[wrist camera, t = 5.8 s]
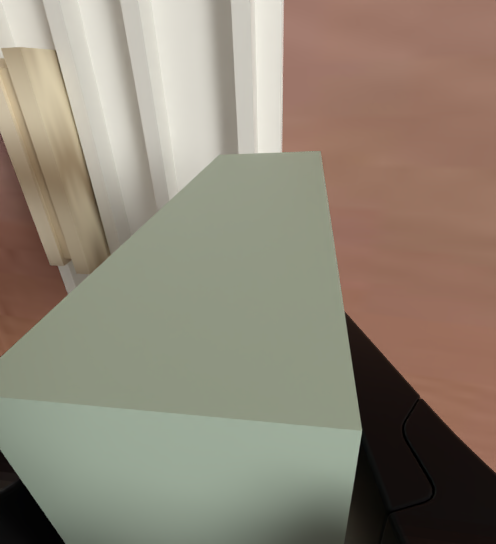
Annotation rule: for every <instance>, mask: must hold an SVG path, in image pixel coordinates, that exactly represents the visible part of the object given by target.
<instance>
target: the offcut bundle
mask: <svg viewBox="0 0 496 544" xmlns="http://www.w3.org/2000/svg"><path fill="white" fill-rule="evenodd" d="M1 50H2V53H3V56H4V58H0V132H1V135H2V138H3V140H4V143H5V146H6V148H7V151H8V154H9V156H10V159H11V162H12V165H13V167H14V170H15V173H16V175H17V178H18V181H19V183H20V186H21V189H22V191H23V194H24V197H25V199H26V202H27V205H28V207H29V210H30V213H31V215H32V218H33V221H34V223H35V226H36V229H37V231H38V234H39V237H40V239H41V242H42V245H43V247H44V250H45V253H46V255H47V258H48V261H49V263H50V265H53V266H65V265H66V264H67V263H68V262H70V261H71V260H72V262H73V265H74V268H75V271H76V274H91V273H92V272H93V271H94V270H95V269H96V268H97V267H99V266H100V265H101V264H102V263H103V262H104V261H105V260H106V259H107V258H108V257H109V256H110V255H111V254H110V250H109V246H108V243H107V239H106V235H105V231H104V228H103V224H102V220H101V216H100V213H99V209H98V205H97V201H96V198H95V194H94V190H93V187H92V183H91V179H90V175H89V172H88V168H87V164H86V160H85V157H84V153H83V149H82V146H81V142H80V138H79V134H78V131H77V127H76V123H75V119H74V116H73V112H72V108H71V105H70V101H69V97H68V93H67V90H66V86H65V82H64V78H63V75H62V71H61V67H60V64H59V60H58V56H57V52H56V50H50V49H38V48H26V47H12V48H1Z"/></svg>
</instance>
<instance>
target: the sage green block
mask: <svg viewBox="0 0 496 544" xmlns="http://www.w3.org/2000/svg"><path fill="white" fill-rule="evenodd" d="M361 435H362V427H361V420H360V413H359V406H358V400H357V393H356V386H355V380H354V373H353V366H352V360H351V353H350V346H349V339H348V333H347V326H346V319H345V313H344V306H343V299H342V292H341V286H340V279H339V272H338V266H337V259H336V252H335V245H334V239H333V232H332V225H331V219H330V212H329V205H328V198H327V192H326V185H325V178H324V172H323V165H322V158H321V152H320V151H309V152H281V153H254V154H226V155H218V156H217V157H216V158H215V159H214V160H213V161H212V162H211V163H210V164H209V165H208V166H206V167H205V168H204V169H203V170H202V171H201V172H200V173H199V174H198V175H197V176H196V177H195V178H194V179H192V180H191V181H190V182H189V183H188V184H187V185H186V186H185V187H184V188H183V189H182V190H181V191H180V192H178V193H177V194H176V195H175V196H174V197H173V198H172V199H171V200H170V201H169V202H168V203H167V204H165V205H164V206H163V207H162V208H161V209H160V210H159V211H158V212H157V213H156V214H155V215H154V216H153V217H151V218H150V219H149V220H148V221H147V222H146V223H145V224H144V225H143V226H142V227H141V228H140V229H138V230H137V231H136V232H135V233H134V234H133V235H132V236H131V237H130V238H129V239H128V240H127V241H126V242H124V243H123V244H122V245H121V246H120V247H119V248H118V249H117V250H116V251H115V252H114V253H113V254H112V255H110V256H109V257H108V258H107V259H106V260H105V261H104V262H103V263H102V264H101V265H100V266H99V267H97V268H96V269H95V270H94V271H93V272H92V273H91V274H90V275H89V276H88V277H87V278H86V279H85V280H83V281H82V282H81V283H80V284H79V285H78V286H77V287H76V288H75V289H74V290H73V291H72V292H70V293H69V294H68V295H67V296H66V297H65V298H64V299H63V300H62V301H61V302H60V303H59V304H58V305H56V306H55V307H54V308H53V309H52V310H51V311H50V312H49V313H48V314H47V315H46V316H45V317H44V318H42V319H41V320H40V321H39V322H38V323H37V324H36V325H35V326H34V327H33V328H32V329H31V330H29V331H28V332H27V333H26V334H25V335H24V336H23V337H22V338H21V339H20V340H19V341H18V342H17V343H15V344H14V345H13V346H12V347H11V348H10V349H9V350H8V351H7V352H6V353H5V354H4V355H2V356H1V357H0V450H1V452H2V453H3V454H4V456H5V457H6V459H7V460H8V462H9V463H10V465H11V466H12V467H13V469H14V470H15V472H16V473H17V475H18V476H19V477H20V479H21V480H22V482H23V483H24V485H25V486H26V488H27V489H28V490H29V492H30V493H31V495H32V496H33V498H34V499H35V500H36V502H37V503H38V505H39V506H40V508H41V509H42V511H43V512H44V513H45V515H46V516H47V518H48V519H49V521H50V522H51V523H52V525H53V526H54V528H55V529H56V531H57V532H58V534H59V535H60V536H61V538H62V539H63V541H64V542H65V544H344V541H345V535H346V528H347V522H348V516H349V510H350V503H351V497H352V491H353V485H354V478H355V472H356V466H357V460H358V453H359V447H360V441H361Z"/></svg>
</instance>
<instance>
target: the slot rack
mask: <svg viewBox="0 0 496 544" xmlns="http://www.w3.org/2000/svg"><path fill="white" fill-rule="evenodd" d="M283 29H284V0H0V58H4V56H3V53H2V50H1V48H12V47H26V48H38V49H50V50H56V52H57V56H58V60H59V64H60V67H61V71H62V75H63V78H64V82H65V86H66V90H67V93H68V97H69V101H70V105H71V108H72V112H73V116H74V119H75V123H76V127H77V131H78V134H79V138H80V142H81V146H82V149H83V153H84V157H85V160H86V164H87V168H88V172H89V175H90V179H91V183H92V187H93V190H94V194H95V198H96V201H97V205H98V209H99V213H100V216H101V220H102V224H103V228H104V231H105V235H106V239H107V243H108V246H109V250H110V254H111V255H112V254H113V253H114V252H115V251H116V250H117V249H118V248H119V247H120V246H121V245H122V244H123V243H124V242H126V241H127V240H128V239H129V238H130V237H131V236H132V235H133V234H134V233H135V232H136V231H137V230H138V229H140V228H141V227H142V226H143V225H144V224H145V223H146V222H147V221H148V220H149V219H150V218H151V217H153V216H154V215H155V214H156V213H157V212H158V211H159V210H160V209H161V208H162V207H163V206H164V205H165V204H167V203H168V202H169V201H170V200H171V199H172V198H173V197H174V196H175V195H176V194H177V193H178V192H180V191H181V190H182V189H183V188H184V187H185V186H186V185H187V184H188V183H189V182H190V181H191V180H192V179H194V178H195V177H196V176H197V175H198V174H199V173H200V172H201V171H202V170H203V169H204V168H205V167H206V166H208V165H209V164H210V163H211V162H212V161H213V160H214V159H215V158H216V157H217V156H218V155H226V154H254V153H281V152H282V112H283ZM58 268H59V271H60V274H61V276H62V279H63V282H64V285H65V287H66V290H67V293H68V294H69V293H70V292H72V291H73V290H74V289H75V288H76V287H77V286H78V285H79V284H80V283H81V282H82V281H83V280H85V279H86V278H87V277H88V276H89V275H90V274H76V271H75V268H74V265H73V262H72V260H71V261H70V262H68V263H67V264H66V265H65V266H58Z"/></svg>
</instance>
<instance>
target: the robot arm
mask: <svg viewBox="0 0 496 544" xmlns="http://www.w3.org/2000/svg"><path fill="white" fill-rule="evenodd" d="M344 313H345V319H346V326H347V333H348V339H349V346H350V353H351V360H352V366H353V373H354V380H355V386H356V393H357V400H358V406H359V413H360V420H361V427H362V435H361V441H360V447H359V453H358V460H357V466H356V472H355V478H354V485H353V491H352V497H351V503H350V510H349V516H348V522H347V528H346V535H345V541H344V544H496V473H495V472H494V471H493V470H492V469H491V468H490V467H489V466H488V465H486V464H485V463H484V462H483V461H482V460H481V459H480V458H479V457H478V456H477V455H476V454H475V453H474V452H473V451H472V450H471V449H470V448H469V447H468V446H467V445H466V444H465V443H464V442H463V441H462V440H461V439H460V438H459V437H458V436H457V435H456V434H455V433H454V432H453V431H452V430H451V429H450V428H449V427H448V426H447V425H446V424H445V423H444V422H443V421H442V419H441V418H440V417H439V416H438V415H437V414H436V413H435V412H434V411H433V410H432V409H431V408H430V406H429V405H428V404H427V403H426V402H425V401H424V400H423V399H420V395H419V394H418V393H417V392H416V391H415V390H414V389H413V388H412V386H411V385H410V384H409V383H408V382H407V381H406V380H405V379H404V377H403V376H402V375H401V374H400V373H399V372H398V371H397V370H396V369H395V367H394V366H393V365H392V364H391V363H390V362H389V361H388V360H387V358H386V357H385V356H384V355H383V354H382V353H381V352H380V351H379V349H378V348H377V347H376V346H375V345H374V344H373V343H372V342H371V340H370V339H369V338H368V337H367V336H366V335H365V334H364V333H363V332H362V330H361V329H360V328H359V327H358V326H357V325H356V324H355V323H354V321H353V320H352V319H351V318H350V317H349V316H348V315H347V314H346V312H345V311H344ZM0 544H65V542H64V541H63V539H62V538H61V536H60V535H59V534H58V532H57V531H56V529H55V528H54V526H53V525H52V523H51V522H50V521H49V519H48V518H47V516H46V515H45V513H44V512H43V511H42V509H41V508H40V506H39V505H38V503H37V502H36V500H35V499H34V498H33V496H32V495H31V493H30V492H29V490H28V489H27V488H26V486H25V485H24V483H23V482H22V480H21V479H20V477H19V476H18V475H17V473H16V472H15V470H14V469H13V467H12V466H11V465H10V463H9V462H8V460H7V459H6V457H5V456H4V454H3V453H2V452H1V450H0Z"/></svg>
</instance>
